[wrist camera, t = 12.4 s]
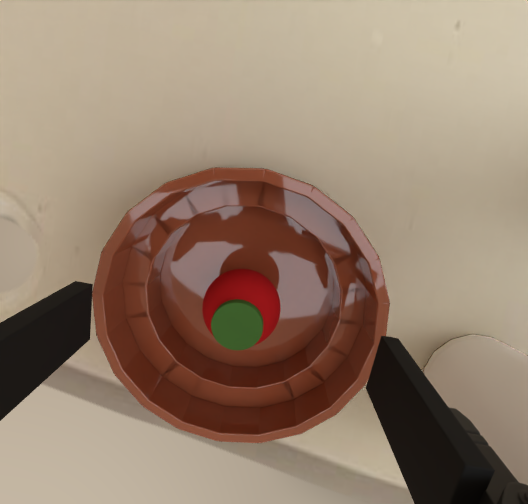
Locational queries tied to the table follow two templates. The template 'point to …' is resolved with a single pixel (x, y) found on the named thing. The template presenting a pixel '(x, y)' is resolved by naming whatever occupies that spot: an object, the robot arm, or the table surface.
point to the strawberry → (241, 308)
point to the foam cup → (487, 393)
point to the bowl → (215, 264)
